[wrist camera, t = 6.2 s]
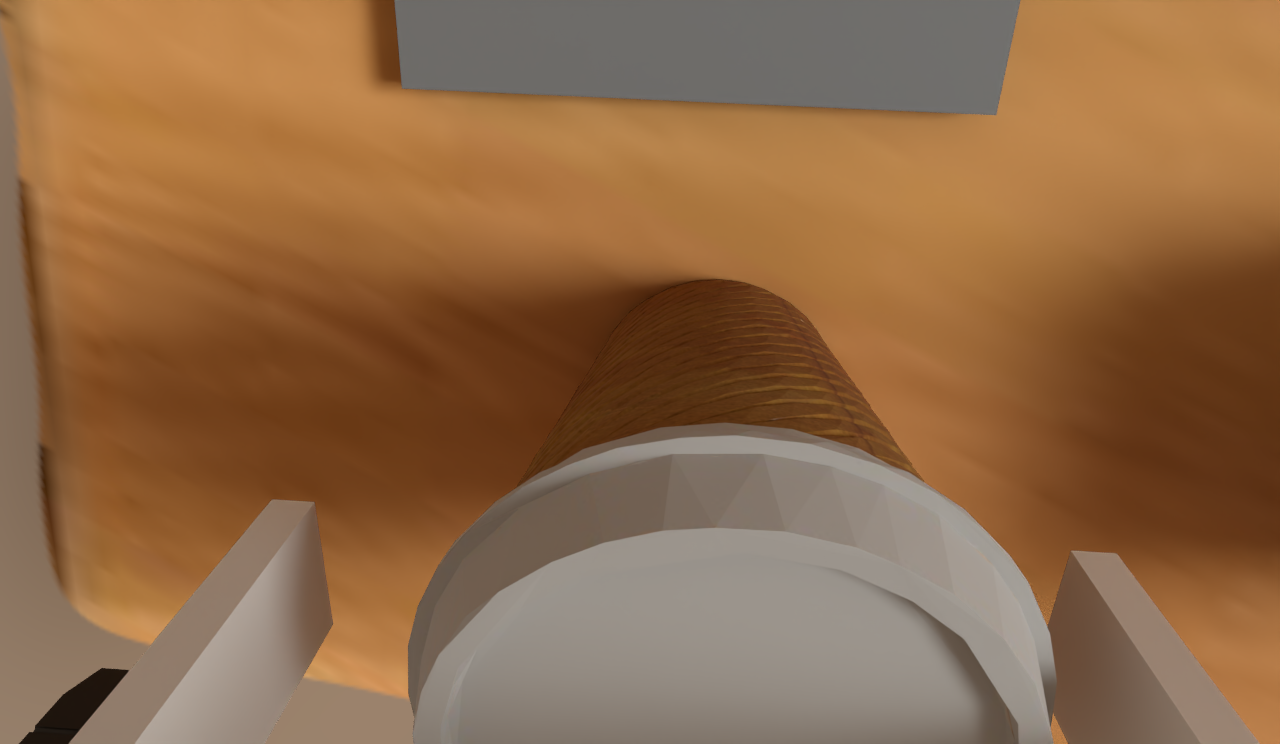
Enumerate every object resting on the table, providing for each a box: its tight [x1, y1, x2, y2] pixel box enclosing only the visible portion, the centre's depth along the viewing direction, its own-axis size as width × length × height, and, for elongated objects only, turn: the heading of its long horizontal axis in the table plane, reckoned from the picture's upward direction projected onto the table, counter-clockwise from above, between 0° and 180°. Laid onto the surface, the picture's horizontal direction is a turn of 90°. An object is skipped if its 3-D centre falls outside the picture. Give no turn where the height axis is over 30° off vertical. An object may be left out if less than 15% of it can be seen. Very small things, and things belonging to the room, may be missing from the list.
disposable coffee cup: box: [408, 280, 1057, 744], centre depth 17 cm, size 10×10×12 cm
